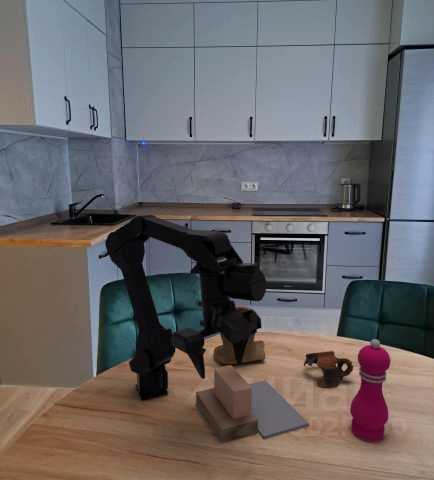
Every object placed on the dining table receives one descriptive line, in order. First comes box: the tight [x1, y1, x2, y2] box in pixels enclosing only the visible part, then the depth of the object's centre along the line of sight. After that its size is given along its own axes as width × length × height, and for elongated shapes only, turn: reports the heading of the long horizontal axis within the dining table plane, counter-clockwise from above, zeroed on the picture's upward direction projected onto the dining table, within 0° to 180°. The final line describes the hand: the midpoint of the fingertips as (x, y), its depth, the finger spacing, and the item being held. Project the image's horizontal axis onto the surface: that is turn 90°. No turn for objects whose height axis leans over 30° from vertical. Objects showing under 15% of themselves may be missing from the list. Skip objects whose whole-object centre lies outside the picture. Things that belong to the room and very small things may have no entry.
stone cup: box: [213, 305, 266, 365], centre depth 109 cm, size 15×12×15 cm
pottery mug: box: [303, 350, 354, 388], centre depth 101 cm, size 12×10×8 cm
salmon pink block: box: [213, 364, 252, 419], centre depth 84 cm, size 4×10×6 cm, turn 23°
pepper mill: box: [349, 338, 391, 442], centre depth 79 cm, size 7×7×20 cm
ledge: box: [195, 387, 259, 444], centre depth 85 cm, size 8×14×3 cm, turn 23°
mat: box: [248, 379, 310, 440], centre depth 88 cm, size 11×18×1 cm, turn 23°
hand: (221, 370), depth 81 cm, fingers open, 9 cm apart
